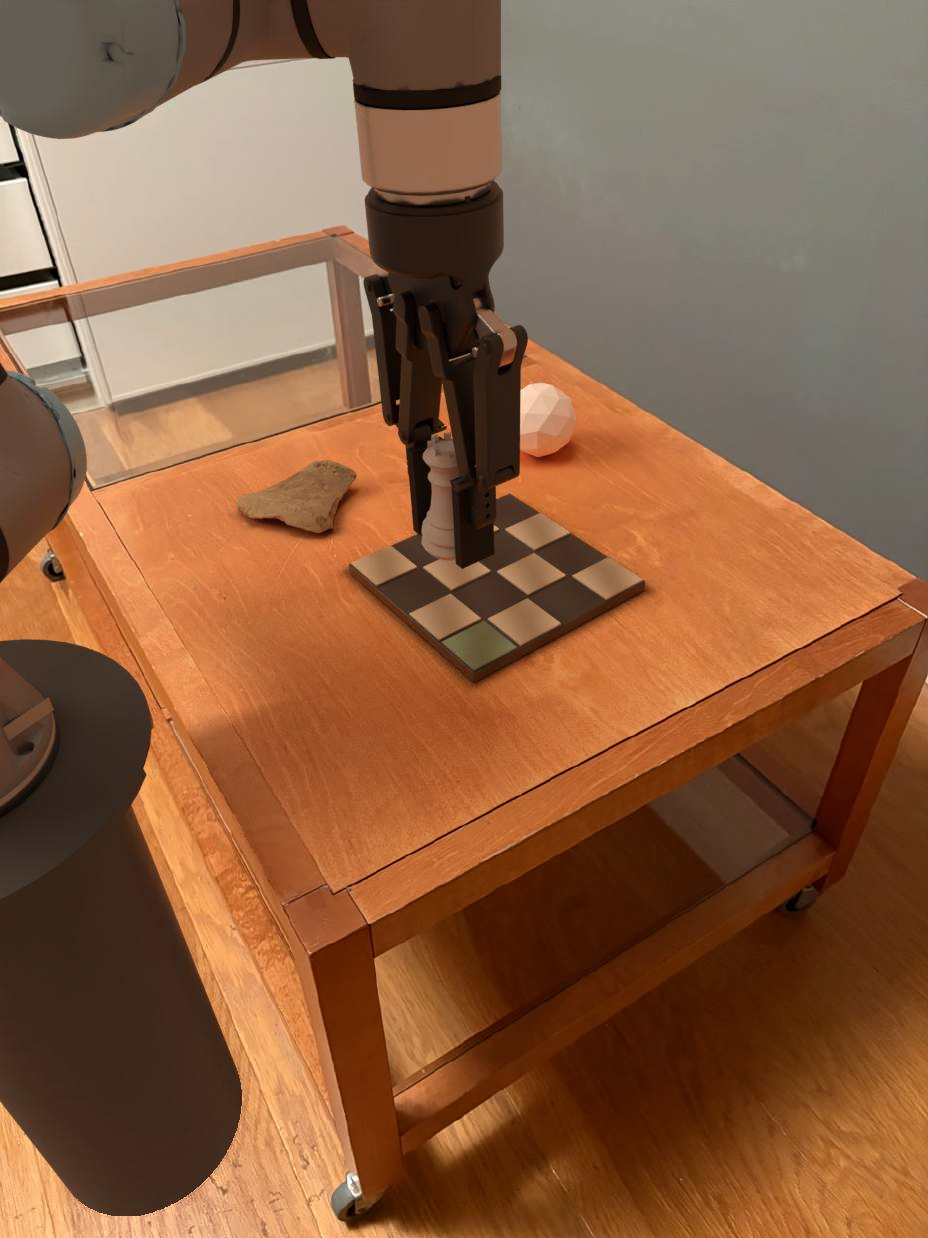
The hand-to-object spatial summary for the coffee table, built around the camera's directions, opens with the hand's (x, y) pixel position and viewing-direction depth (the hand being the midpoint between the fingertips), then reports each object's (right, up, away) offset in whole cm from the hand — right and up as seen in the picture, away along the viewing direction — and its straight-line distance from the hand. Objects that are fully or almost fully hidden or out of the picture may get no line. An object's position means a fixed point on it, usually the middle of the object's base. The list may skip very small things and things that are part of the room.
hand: (453, 541), depth 66 cm
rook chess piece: (0, 0, 0) cm, 0 cm away
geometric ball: (+9, +13, +39) cm, 42 cm away
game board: (+3, -2, +21) cm, 21 cm away
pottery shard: (-16, +6, +32) cm, 36 cm away
